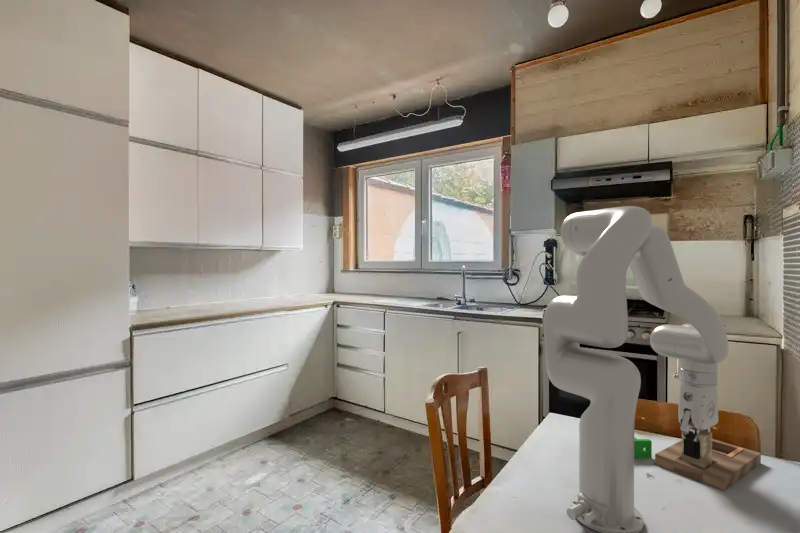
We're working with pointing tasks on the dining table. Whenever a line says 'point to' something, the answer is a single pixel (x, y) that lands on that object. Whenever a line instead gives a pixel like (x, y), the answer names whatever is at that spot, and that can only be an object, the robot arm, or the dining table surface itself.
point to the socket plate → (725, 463)
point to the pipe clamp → (640, 445)
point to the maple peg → (701, 450)
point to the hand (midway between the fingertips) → (696, 453)
